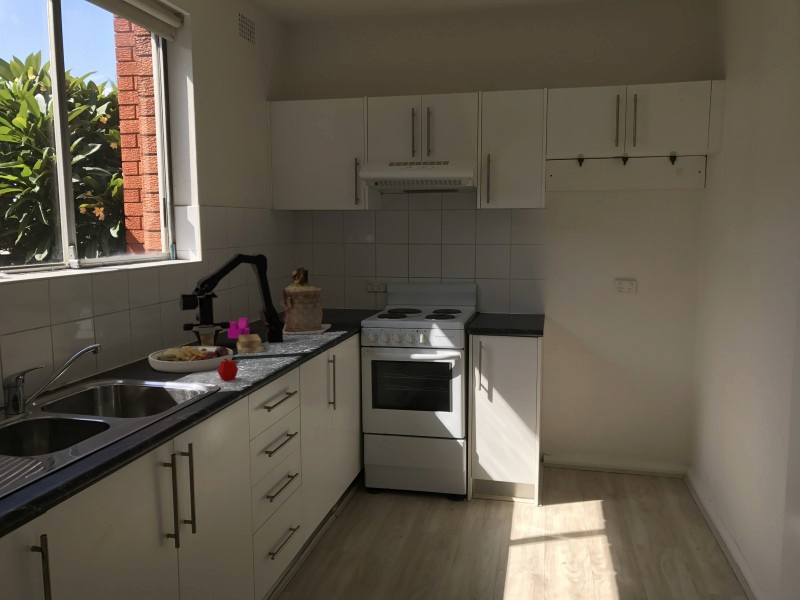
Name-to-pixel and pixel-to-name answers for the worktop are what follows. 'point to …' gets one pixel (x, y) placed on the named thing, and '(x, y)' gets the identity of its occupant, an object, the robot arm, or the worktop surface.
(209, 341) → the walnut block
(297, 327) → the cookie jar
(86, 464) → the worktop surface
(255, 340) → the oak slab
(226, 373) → the apple
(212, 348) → the bowl
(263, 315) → the robot arm
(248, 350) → the beech slab
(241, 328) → the toy block
